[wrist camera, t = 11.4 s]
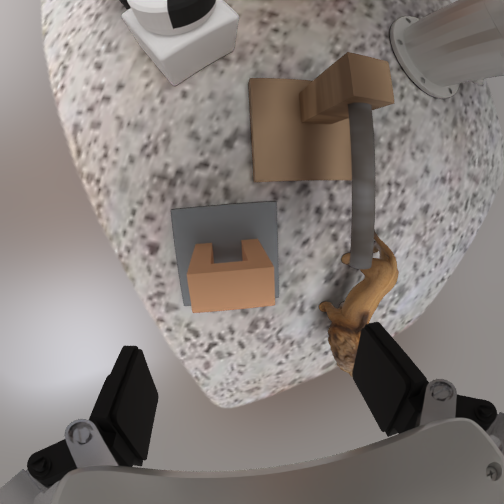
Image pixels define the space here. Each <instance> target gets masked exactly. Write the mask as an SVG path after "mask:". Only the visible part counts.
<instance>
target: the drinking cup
mask: <svg viewBox="0 0 504 504" xmlns="http://www.w3.org/2000/svg"><path fill="white" fill-rule="evenodd" d="M120 2H121V3H122V4H123V5H124V6H125V7H126V9H127V10H128V9H130V8H131V7H130V5H129V4H128V2H127V0H120Z"/></svg>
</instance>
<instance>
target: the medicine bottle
mask: <svg viewBox="0 0 504 504" xmlns="http://www.w3.org/2000/svg"><path fill="white" fill-rule="evenodd" d="M127 2H128V4H129V5H130V7H131V8H130V9H128V10H127V11H125V12H124V13H123V14H122V19H123V20H124V22H125V23H126V25H127V26H128V28H129V29H130V31H131V33H132V34H133V36H134V37H135V39H136V40H137V42H138V44H139V45H140V46H141V48H142V49H143V50H144V51H145V52H146V54H147V55H148V56H149V57H150V58H151V60H152V61H153V62H154V63H155V64H156V66H157V67H158V68H159V69H160V70H161V72H162V73H163V74H164V75H165V77H166V78H167V79H168V80H169V82H170V83H171V84H172V85H174V86H176V85H178V84H179V83H181V82H182V81H184V80H185V79H187V78H188V77H190V76H191V75H193V74H194V73H196V72H198V71H199V70H201V69H202V68H204V67H206V66H207V65H209V64H211V63H212V62H214V61H216V60H218V59H219V58H221V57H223V56H225V55H226V54H228V53H230V52H232V51H233V50H234V46H235V39H236V33H237V27H238V21H239V15H238V14H237V13H236V12H235V11H234V10H233V9H232V8H231V7H230V6H229V5H228V4H227V3H226V2H225V1H223V0H127Z"/></svg>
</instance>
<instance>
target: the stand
mask: <svg viewBox="0 0 504 504" xmlns="http://www.w3.org/2000/svg"><path fill="white" fill-rule="evenodd" d="M248 89H249V106H250V124H251V142H252V161H253V179H254V182H270V181H300V180H352V226H351V250H350V266H351V267H353V268H355V269H369V268H371V266H372V255H373V241H374V223H375V149H374V131H373V118H372V110H374V109H377V108H381V107H384V106H387V105H391V104H394V95H393V88H392V81H391V75H390V69H389V64H388V62H387V61H383V60H379V59H375V58H372V57H367V56H363V55H359V54H354V53H349V52H347V53H346V54H345V55H343V56H342V57H341V58H340V59H339V60H337V61H336V62H335V63H334V64H332V65H331V66H330V67H329V68H328V69H326V70H325V71H324V72H323V73H322V74H320V75H319V76H318V77H317V78H316V79H315V80H314V81H309V80H296V79H274V78H250V79H249V82H248Z"/></svg>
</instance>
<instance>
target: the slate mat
mask: <svg viewBox="0 0 504 504" xmlns="http://www.w3.org/2000/svg"><path fill="white" fill-rule="evenodd" d="M171 218H172V227H173V235H174V243H175V251H176V258H177V265H178V272H179V278H180V285H181V291H182V297H183V303H184V306H191V300H190V294H189V287H188V281H187V272H188V268H189V265H190V261H191V258H192V254H193V251H194V248H195V244H203V243H212V247H213V257H214V264H215V263H227V262H238V261H243V259H242V245H241V240H249V239H258V240H259V242H260V243H261V245H262V247H263V249H264V250H265V252H266V254H267V255H268V257H269V259H270V261H271V262H272V264H273V266H274V281H275V298H278V297H279V273H278V233H277V203H276V201H268V202H252V203H237V204H224V205H212V206H201V207H190V208H180V209H172V210H171Z"/></svg>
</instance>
